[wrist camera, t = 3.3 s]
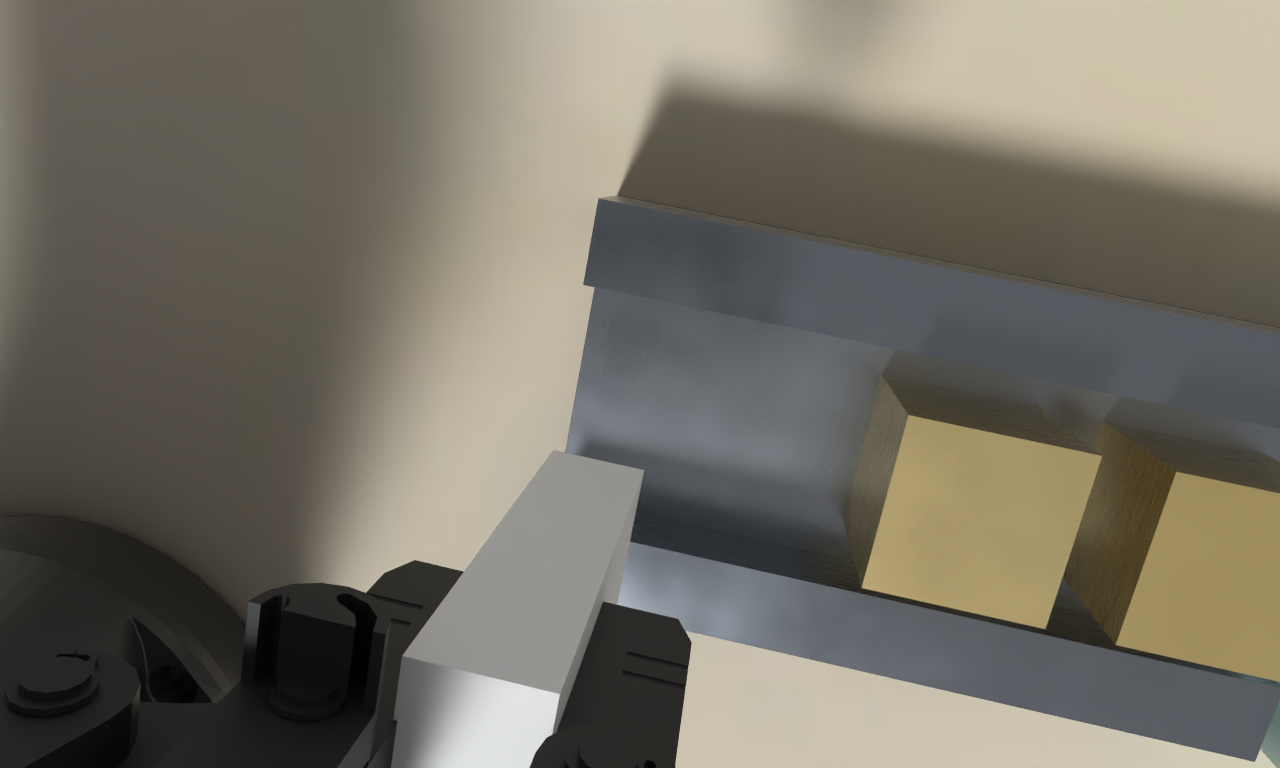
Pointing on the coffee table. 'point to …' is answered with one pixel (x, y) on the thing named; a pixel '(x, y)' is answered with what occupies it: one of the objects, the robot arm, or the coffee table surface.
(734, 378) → the slot board
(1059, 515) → the chip
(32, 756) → the robot arm
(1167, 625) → the chip
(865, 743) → the coffee table surface
